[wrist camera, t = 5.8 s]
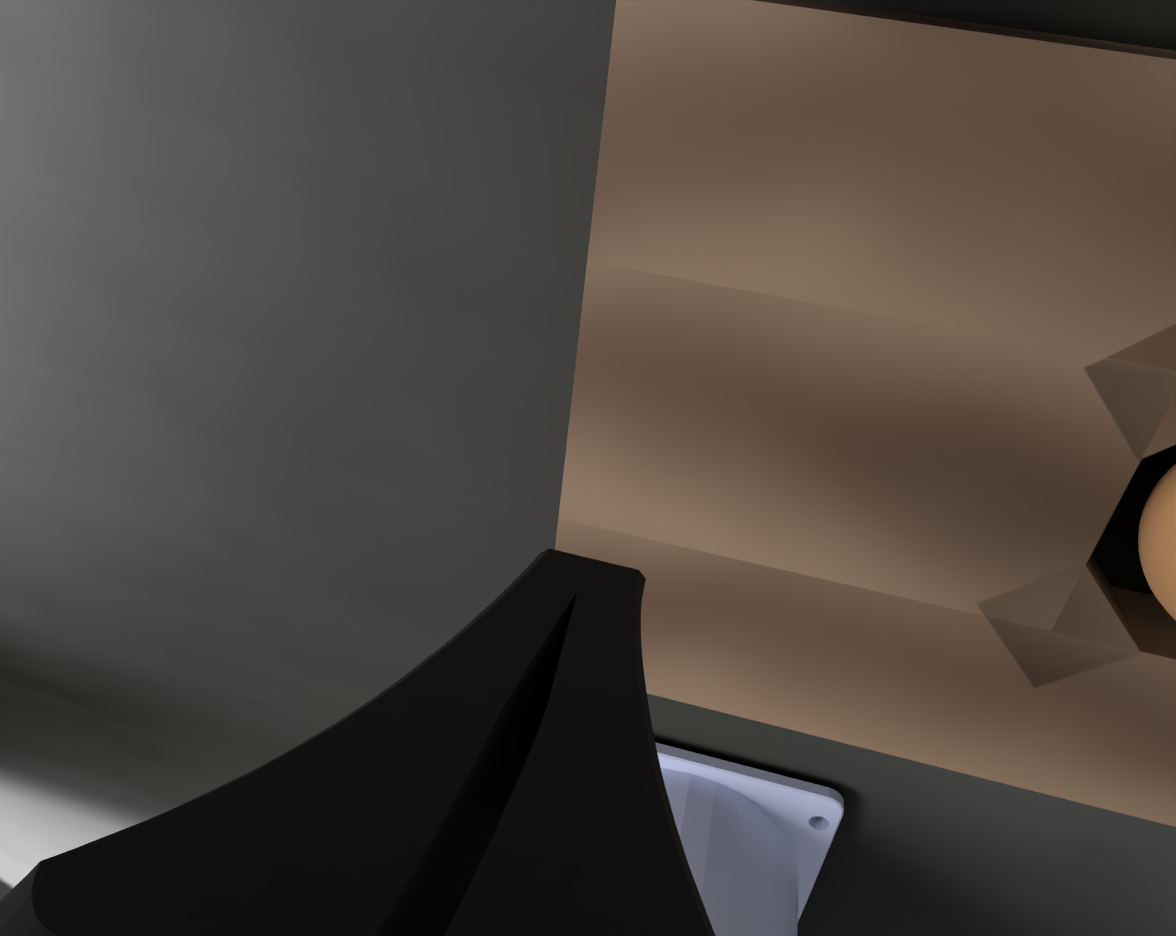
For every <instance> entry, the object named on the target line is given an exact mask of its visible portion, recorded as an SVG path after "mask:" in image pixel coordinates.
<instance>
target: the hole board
mask: <svg viewBox="0 0 1176 936" xmlns="http://www.w3.org/2000/svg"><path fill="white" fill-rule="evenodd" d="M1174 445H1176V51H1175V50H1168V49H1161V48H1153V47H1146V46H1139V45H1132V44H1125V43H1118V42H1110V41H1103V40H1096V39H1089V38H1082V37H1074V36H1067V35H1060V34H1053V33H1046V32H1038V31H1031V30H1024V29H1017V28H1010V27H1003V26H995V25H988V24H981V23H974V22H967V21H959V20H952V19H945V18H938V17H931V16H924V15H916V14H909V13H902V12H895V11H888V10H880V9H873V8H866V7H859V6H852V5H845V4H837V3H830V2H823V1H816V0H616V8H615V17H614V26H613V35H612V44H611V53H610V62H609V71H608V80H607V89H606V98H605V107H604V115H603V124H602V133H601V142H600V151H599V160H598V169H597V178H596V187H595V196H594V205H593V214H592V223H591V232H590V241H589V250H588V259H587V267H586V276H585V285H584V294H583V303H582V312H581V321H580V330H579V339H578V348H577V357H576V366H575V375H574V384H573V393H572V402H571V411H570V419H569V428H568V437H567V446H566V455H565V464H564V473H563V482H562V491H561V500H560V509H559V518H558V527H557V536H556V545H555V550H558V551H562V552H567V553H571V554H575V555H579V556H583V557H587V558H592V559H596V560H600V561H604V562H608V563H613V564H617V565H621V566H625V567H629V568H634V569H638V570H640V572H641V573H642V574H643V576H644V577H645V578H646V582H645V587H644V592H643V597H642V604H641V645H642V658H643V668H644V676H645V684H646V692H647V693H648V694H652V695H656V696H660V697H664V698H668V699H672V700H676V701H680V702H684V703H688V704H692V705H696V706H700V707H703V708H707V709H711V710H715V711H719V712H723V713H727V714H731V715H735V716H739V717H743V718H747V719H751V720H755V721H759V722H763V723H767V724H771V725H775V726H779V727H783V728H787V729H790V730H794V731H798V732H802V733H806V734H810V735H814V736H818V737H822V738H826V739H830V740H834V741H838V742H842V743H846V744H850V745H854V746H858V747H862V748H866V749H870V750H874V751H877V752H881V753H885V754H889V755H893V756H897V757H901V758H905V759H909V760H913V761H917V762H921V763H925V764H929V765H933V766H937V767H941V768H945V769H949V770H953V771H957V772H961V773H964V774H968V775H972V776H976V777H980V778H984V779H988V780H992V781H996V782H1000V783H1004V784H1008V785H1012V786H1016V787H1020V788H1024V789H1028V790H1032V791H1036V792H1040V793H1044V794H1047V795H1051V796H1055V797H1059V798H1063V799H1067V800H1071V801H1075V802H1079V803H1083V804H1087V805H1091V806H1095V807H1099V808H1103V809H1107V810H1111V811H1115V812H1119V813H1123V814H1127V815H1131V816H1134V817H1138V818H1142V819H1146V820H1150V821H1154V822H1158V823H1162V824H1166V825H1170V826H1174V827H1176V620H1175V619H1174V618H1173V617H1172V616H1171V615H1170V614H1169V613H1168V612H1167V611H1166V610H1165V608H1164V607H1163V606H1162V605H1161V603H1160V602H1159V601H1158V600H1157V598H1156V596H1154V595H1150V594H1145V593H1141V592H1136V591H1132V590H1127V589H1123V588H1118V587H1114V586H1111V585H1110V583H1109V582H1108V580H1107V578H1106V577H1105V575H1104V574H1103V572H1102V570H1101V569H1100V567H1099V566H1098V564H1097V562H1096V561H1095V559H1094V558H1093V556H1092V552H1093V550H1094V548H1095V546H1096V544H1097V543H1098V541H1099V539H1100V537H1101V535H1102V533H1103V531H1104V529H1105V527H1106V526H1107V524H1108V522H1109V520H1110V518H1111V516H1112V514H1113V512H1114V510H1115V508H1116V507H1117V505H1118V503H1119V501H1120V499H1121V497H1122V495H1123V493H1124V491H1125V490H1126V488H1127V486H1128V484H1129V482H1130V480H1131V478H1132V476H1133V474H1134V472H1135V471H1136V469H1137V467H1138V465H1139V463H1140V461H1141V459H1143V458H1145V457H1148V456H1150V455H1152V454H1155V453H1157V452H1159V451H1162V450H1164V449H1166V448H1169V447H1171V446H1174Z"/></svg>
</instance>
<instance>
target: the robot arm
mask: <svg viewBox="0 0 1176 936" xmlns="http://www.w3.org/2000/svg"><path fill="white" fill-rule="evenodd" d="M645 582H646V578H645V577H644V576H643V574H642V573H641V572H640V570H638V569H634V568H629V567H625V566H621V565H617V564H613V563H608V562H604V561H600V560H596V559H592V558H587V557H583V556H579V555H575V554H571V553H567V552H562V551H558V550H554V549H550V548H549V549H547V550H545V551H544V552H542V553H540V554H539V555H538V556H537V557H536V559H535V560H534V561H533V562H532V563H531V564H530V565H529V566H528V567H527V568H526V569H525V570H524V572H523V573H522V574H521V575H520V576H519V577H518V578H517V579H516V580H515V581H514V582H513V583H512V584H511V585H510V586H509V587H508V588H507V589H506V590H505V591H504V592H503V593H502V594H501V595H500V596H498V597H497V598H496V599H495V600H494V601H493V602H492V603H491V604H490V605H489V606H488V607H487V608H486V609H485V610H483V611H482V612H481V613H480V614H479V615H478V616H477V617H476V618H474V619H473V620H472V621H471V622H470V623H469V624H468V625H467V626H465V627H464V628H463V629H462V630H461V631H460V632H459V633H458V634H456V635H455V636H454V637H453V638H452V639H451V640H449V641H448V642H447V643H446V644H445V645H443V646H442V647H441V648H440V649H438V650H437V651H436V652H434V653H433V654H432V655H431V656H429V657H428V658H427V659H426V660H424V661H423V662H422V663H420V664H419V665H418V666H417V667H415V668H414V669H413V670H411V671H410V672H409V673H408V674H406V675H405V676H404V677H403V678H401V679H400V680H398V681H397V682H396V683H394V684H393V685H392V686H390V687H389V688H387V689H386V690H385V691H383V692H382V693H380V694H379V695H377V696H376V697H375V698H373V699H372V700H370V701H369V702H367V703H366V704H364V705H363V706H361V707H360V708H358V709H357V710H355V711H354V712H352V713H351V714H349V715H347V716H346V717H344V718H343V719H341V720H340V721H338V722H337V723H335V724H333V725H332V726H330V727H329V728H327V729H325V730H323V731H322V732H320V733H318V734H317V735H315V736H313V737H311V738H310V739H308V740H306V741H305V742H303V743H301V744H300V745H298V746H296V747H294V748H293V749H291V750H289V751H288V752H286V753H284V754H282V755H281V756H279V757H277V758H275V759H273V760H271V761H270V762H268V763H266V764H264V765H262V766H260V767H258V768H256V769H255V770H253V771H251V772H249V773H247V774H245V775H242V776H240V777H238V778H236V779H234V780H232V781H230V782H228V783H226V784H224V785H222V786H220V787H218V788H216V789H213V790H211V791H209V792H207V793H205V794H203V795H201V796H199V797H197V798H195V799H193V800H191V801H189V802H187V803H184V804H182V805H180V806H178V807H176V808H174V809H172V810H169V811H167V812H165V813H163V814H160V815H158V816H156V817H154V818H151V819H149V820H146V821H144V822H141V823H139V824H136V825H134V826H131V827H129V828H126V829H123V830H121V831H118V832H116V833H113V834H111V835H108V836H106V837H103V838H101V839H98V840H95V841H93V842H90V843H88V844H85V845H83V846H80V847H78V848H75V849H72V850H70V851H67V852H65V853H62V854H59V855H56V856H54V857H51V858H48V859H45V860H42V861H40V862H39V863H38V864H37V865H36V866H35V867H34V868H33V870H32V871H31V872H30V873H29V874H28V875H27V876H26V877H25V878H24V879H23V880H22V881H20V882H19V883H18V884H17V885H16V886H15V887H14V888H13V889H12V890H11V891H10V892H9V893H8V894H7V895H6V896H5V897H4V898H3V899H2V900H1V901H0V936H797V932H798V921H799V919H800V916H801V914H802V912H803V909H804V907H805V904H806V902H807V900H808V897H809V895H810V893H811V890H812V888H813V885H814V883H815V881H816V878H817V876H818V874H819V871H820V869H821V866H822V864H823V862H824V859H825V857H826V855H827V852H828V850H829V847H830V845H831V843H832V840H833V838H834V835H835V833H836V831H837V828H838V826H839V824H840V821H841V819H842V816H843V812H844V800H843V798H842V796H841V794H839V793H838V792H837V791H836V790H833V789H831V788H829V787H825V786H821V785H817V784H813V783H810V782H806V781H802V780H798V779H794V778H790V777H787V776H783V775H779V774H775V773H771V772H767V771H764V770H760V769H756V768H752V767H748V766H744V765H740V764H737V763H733V762H729V761H725V760H721V759H717V758H714V757H710V756H706V755H702V754H698V753H694V752H691V751H687V750H683V749H679V748H675V747H671V746H668V745H664V744H660V743H656V742H655V739H654V734H653V729H652V724H651V718H650V712H649V706H648V700H647V692H646V684H645V676H644V668H643V658H642V645H641V604H642V597H643V592H644V587H645ZM816 816H820V817H816Z"/></svg>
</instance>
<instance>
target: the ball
mask: <svg viewBox="0 0 1176 936" xmlns="http://www.w3.org/2000/svg"><path fill="white" fill-rule="evenodd" d="M1138 545H1139V555H1140V561H1141V565H1142V569H1143V572H1144V575H1145V577H1146V580H1147V582H1148V584H1149V586H1150V588H1151V590H1152V592H1153V593H1154V595H1155V596H1156V598H1157V600H1158V601H1159V602H1160V603H1161V605H1162V606H1163V607H1164V608H1165V610H1166V611H1167V612H1168V613H1169V614H1170V615H1171V616H1172V617H1173V618H1174V619H1175V620H1176V464H1175V465H1173V466H1172V467H1171V468H1170V469H1169V470H1168V471H1167V472H1166V473H1165V475H1164V476H1163V477H1162V478H1161V479H1160V480H1159V482H1158V483H1157V484H1156V486H1155V487H1154V489H1153V491H1152V492H1151V494H1150V496H1149V498H1148V500H1147V502H1146V504H1145V506H1144V509H1143V512H1142V515H1141V519H1140V525H1139V534H1138Z"/></svg>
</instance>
